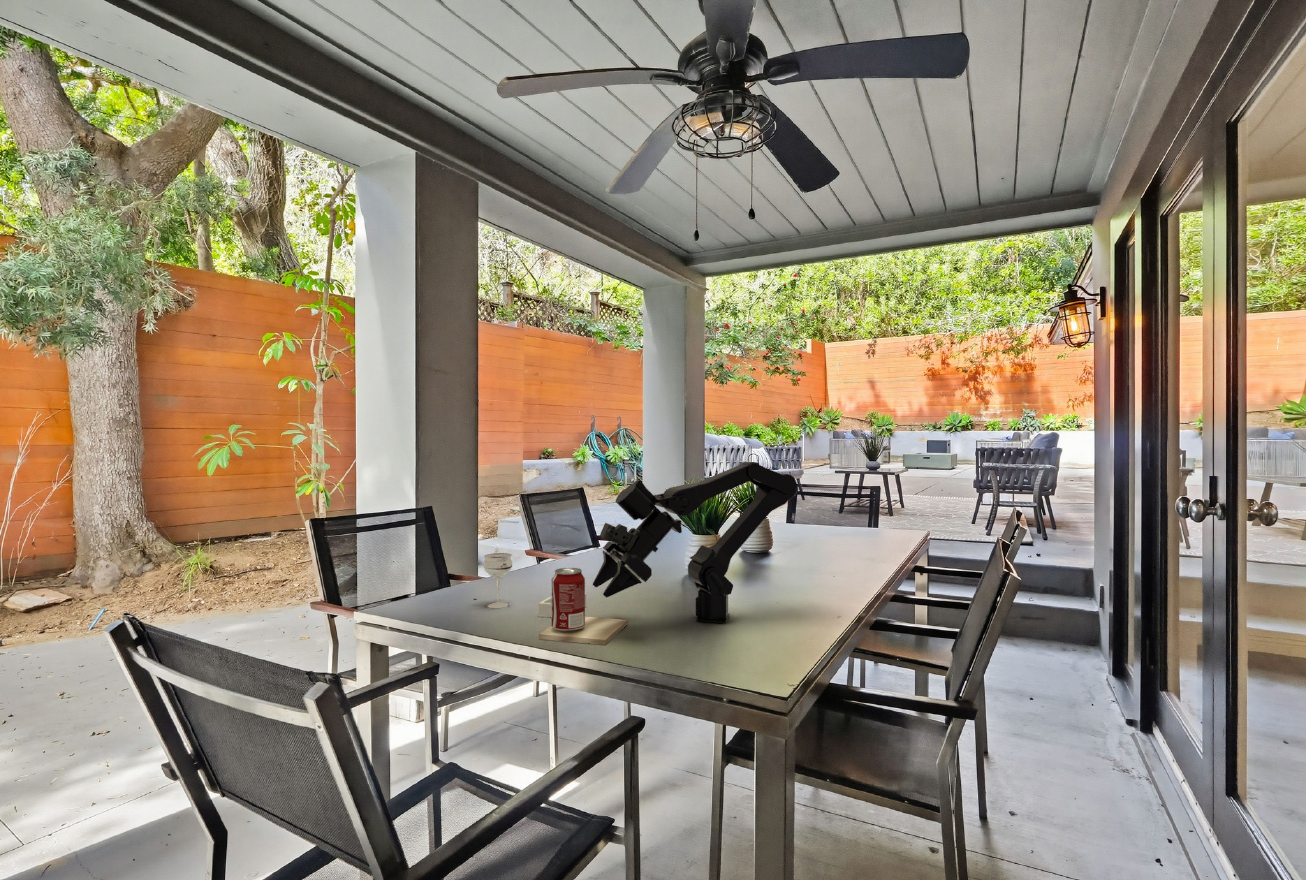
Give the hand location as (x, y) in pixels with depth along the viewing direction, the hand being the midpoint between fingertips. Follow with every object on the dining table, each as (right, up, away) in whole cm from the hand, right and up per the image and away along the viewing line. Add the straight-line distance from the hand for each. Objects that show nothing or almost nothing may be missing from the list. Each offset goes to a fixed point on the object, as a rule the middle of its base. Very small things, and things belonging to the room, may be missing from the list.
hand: (599, 590), depth 131 cm
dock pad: (-3, -8, -1) cm, 9 cm away
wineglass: (-26, -9, +21) cm, 34 cm away
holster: (-10, -8, +15) cm, 20 cm away
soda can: (-6, -7, -2) cm, 10 cm away
